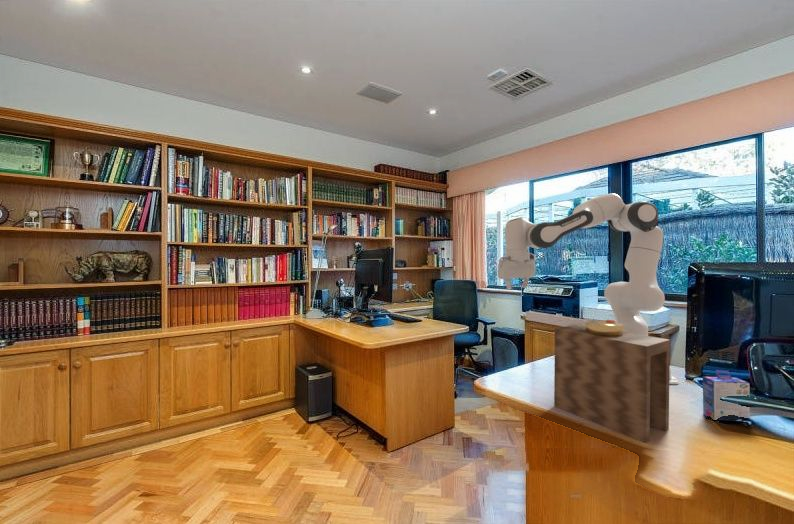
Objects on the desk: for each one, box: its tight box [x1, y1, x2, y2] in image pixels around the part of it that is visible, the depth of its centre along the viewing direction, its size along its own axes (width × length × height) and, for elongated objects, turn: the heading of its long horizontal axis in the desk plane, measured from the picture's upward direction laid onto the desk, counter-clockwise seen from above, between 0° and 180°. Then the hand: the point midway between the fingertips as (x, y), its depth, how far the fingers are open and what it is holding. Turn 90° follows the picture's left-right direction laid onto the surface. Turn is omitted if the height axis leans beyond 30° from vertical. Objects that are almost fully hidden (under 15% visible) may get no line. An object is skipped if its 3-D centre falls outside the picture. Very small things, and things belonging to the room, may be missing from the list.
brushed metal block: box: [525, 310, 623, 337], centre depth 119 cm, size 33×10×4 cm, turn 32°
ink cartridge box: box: [702, 369, 751, 421], centre depth 108 cm, size 10×6×14 cm, turn 82°
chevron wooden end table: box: [553, 326, 671, 444], centre depth 109 cm, size 27×14×26 cm, turn 32°
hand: (517, 288), depth 150 cm, fingers open, 8 cm apart
